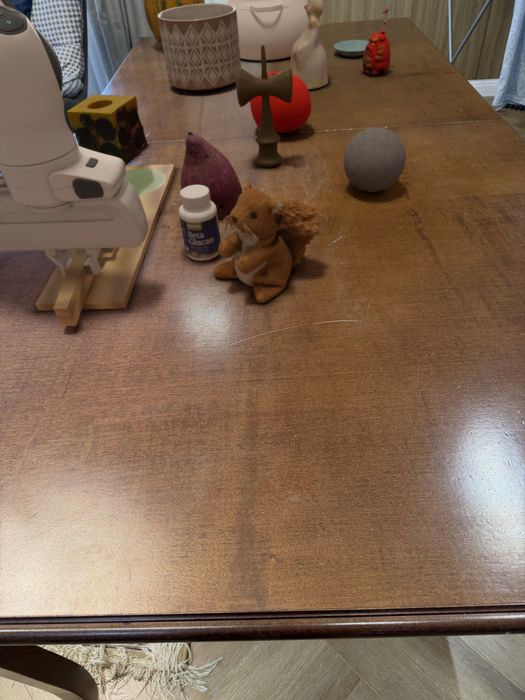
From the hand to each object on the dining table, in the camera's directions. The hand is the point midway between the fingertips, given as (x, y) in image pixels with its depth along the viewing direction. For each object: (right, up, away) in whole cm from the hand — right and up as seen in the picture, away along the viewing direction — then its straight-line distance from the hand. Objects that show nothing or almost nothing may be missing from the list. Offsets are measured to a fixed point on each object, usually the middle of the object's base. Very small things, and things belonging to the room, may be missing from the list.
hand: (82, 272), depth 68 cm
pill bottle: (+16, +4, +8) cm, 18 cm away
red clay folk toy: (+54, +63, +65) cm, 105 cm away
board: (+1, +10, +14) cm, 17 cm away
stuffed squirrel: (+25, 0, +3) cm, 26 cm away
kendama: (+26, +25, +29) cm, 46 cm away
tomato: (+28, +36, +40) cm, 61 cm away
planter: (+9, +60, +66) cm, 90 cm away
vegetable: (+16, +14, +18) cm, 28 cm away
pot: (+26, +81, +86) cm, 121 cm away
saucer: (+51, +76, +79) cm, 121 cm away
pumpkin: (-2, +89, +97) cm, 131 cm away
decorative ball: (+43, +17, +19) cm, 50 cm away
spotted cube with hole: (-6, +30, +37) cm, 48 cm away
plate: (+1, +19, +24) cm, 31 cm away
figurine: (+36, +58, +62) cm, 92 cm away
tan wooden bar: (0, 0, +2) cm, 2 cm away
